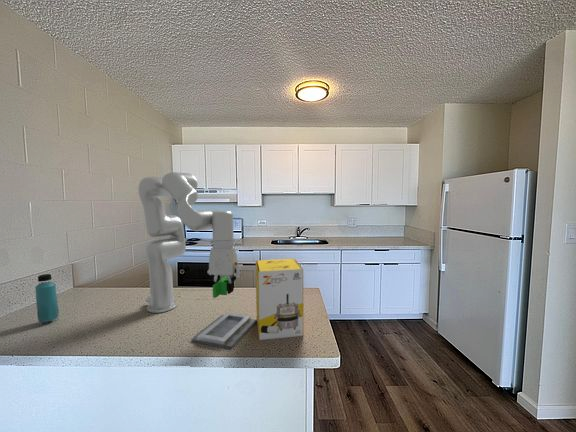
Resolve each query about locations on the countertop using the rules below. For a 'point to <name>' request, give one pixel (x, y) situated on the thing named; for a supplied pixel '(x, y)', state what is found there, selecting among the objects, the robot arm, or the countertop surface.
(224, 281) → the pipe clamp
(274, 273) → the packaging box
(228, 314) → the groove block
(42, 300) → the beverage bottle
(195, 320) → the countertop surface
